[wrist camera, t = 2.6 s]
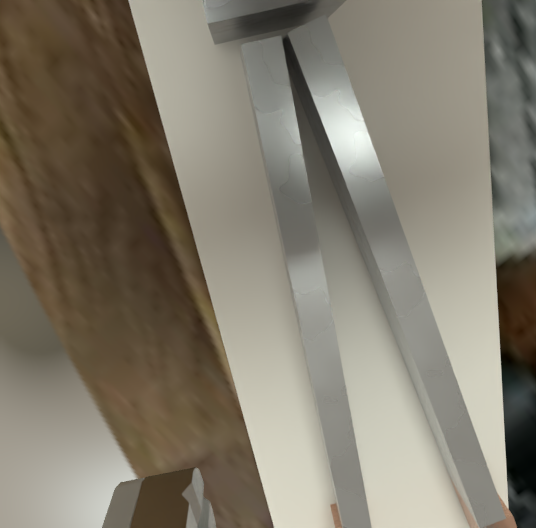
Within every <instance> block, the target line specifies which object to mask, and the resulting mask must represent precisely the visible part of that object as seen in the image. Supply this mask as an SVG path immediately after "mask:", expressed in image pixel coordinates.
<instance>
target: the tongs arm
mask: <svg viewBox="0 0 536 528" xmlns="http://www.w3.org/2000/svg"><path fill="white" fill-rule="evenodd" d="M282 42H283V48H284V53H285V58H286V64H287V69H288V71H289V74H290V76H291V79H292V81H293V84H294V86H295V89H296V91H297V94H298V96H299V99H300V101H301V104H302V106H303V109H304V111H305V114H306V116H307V119H308V121H309V124H310V126H311V129H312V131H313V134H314V136H315V139H316V142H317V144H318V147H319V149H320V152H321V154H322V157H323V159H324V162H325V164H326V167H327V169H328V172H329V174H330V177H331V179H332V182H333V184H334V187H335V189H336V192H337V194H338V197H339V199H340V202H341V204H342V207H343V209H344V212H345V214H346V217H347V220H348V222H349V225H350V227H351V230H352V232H353V235H354V237H355V240H356V242H357V245H358V247H359V250H360V252H361V255H362V257H363V260H364V262H365V265H366V267H367V270H368V272H369V275H370V277H371V280H372V282H373V285H374V287H375V290H376V293H377V295H378V298H379V300H380V303H381V305H382V308H383V310H384V313H385V315H386V318H387V320H388V323H389V325H390V328H391V330H392V333H393V335H394V338H395V340H396V343H397V345H398V348H399V350H400V353H401V355H402V358H403V360H404V363H405V365H406V368H407V371H408V373H409V376H410V378H411V381H412V383H413V386H414V388H415V391H416V393H417V396H418V398H419V401H420V403H421V406H422V408H423V411H424V413H425V416H426V418H427V421H428V423H429V426H430V428H431V431H432V433H433V436H434V438H435V441H436V443H437V446H438V449H439V451H440V454H441V456H442V459H443V461H444V464H445V466H446V469H447V471H448V474H449V476H450V479H451V481H452V484H453V486H454V489H455V491H456V494H457V496H458V499H459V501H460V504H461V506H462V509H463V511H464V514H465V516H466V519H467V522H468V524H469V527H470V528H517V526H516V523H515V520H514V518H513V515H512V514H511V512H510V511H509V509H508V508H507V506H506V505H505V503H504V502H503V501H502V499H501V498H500V496H499V495H498V493H497V491H496V488H495V486H494V483H493V480H492V477H491V474H490V472H489V469H488V466H487V463H486V460H485V458H484V455H483V452H482V449H481V446H480V444H479V441H478V438H477V435H476V432H475V430H474V427H473V424H472V421H471V418H470V416H469V413H468V410H467V407H466V404H465V402H464V399H463V396H462V393H461V390H460V388H459V385H458V382H457V379H456V376H455V374H454V371H453V368H452V365H451V362H450V360H449V357H448V354H447V351H446V348H445V346H444V343H443V340H442V337H441V334H440V332H439V329H438V326H437V323H436V321H435V318H434V315H433V312H432V309H431V307H430V304H429V301H428V298H427V295H426V293H425V290H424V287H423V284H422V281H421V279H420V276H419V273H418V270H417V267H416V265H415V262H414V259H413V256H412V253H411V251H410V248H409V245H408V242H407V239H406V237H405V234H404V231H403V228H402V225H401V223H400V220H399V217H398V214H397V211H396V209H395V206H394V203H393V200H392V197H391V195H390V192H389V189H388V186H387V183H386V181H385V178H384V175H383V172H382V169H381V167H380V164H379V161H378V158H377V155H376V153H375V150H374V147H373V144H372V141H371V139H370V136H369V133H368V130H367V127H366V125H365V122H364V119H363V116H362V113H361V111H360V108H359V105H358V102H357V99H356V97H355V94H354V91H353V88H352V85H351V83H350V80H349V77H348V74H347V71H346V69H345V66H344V63H343V60H342V57H341V55H340V52H339V49H338V46H337V43H336V41H335V38H334V35H333V32H332V29H331V27H330V24H329V21H328V18H327V15H326V14H325V15H323V16H321V17H319V18H317V19H315V20H313V21H310V22H308V23H306V24H304V25H302V26H300V27H298V28H296V29H294V30H292V31H290V32H288V33H287V34H286V35H285V37H284V38H283V40H282Z"/></svg>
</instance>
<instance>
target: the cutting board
mask: <svg viewBox="0 0 536 528" xmlns="http://www.w3.org/2000/svg"><path fill="white" fill-rule="evenodd" d="M128 1H129V4H130V8H131V12H132V15H133V19H134V22H135V26H136V30H137V33H138V37H139V41H140V44H141V48H142V51H143V55H144V59H145V62H146V66H147V69H148V73H149V77H150V80H151V84H152V87H153V91H154V95H155V98H156V102H157V106H158V109H159V113H160V116H161V120H162V124H163V127H164V131H165V134H166V138H167V142H168V145H169V149H170V153H171V156H172V160H173V163H174V167H175V171H176V174H177V178H178V181H179V185H180V189H181V192H182V196H183V200H184V203H185V207H186V210H187V214H188V218H189V221H190V225H191V228H192V232H193V236H194V239H195V243H196V247H197V250H198V254H199V257H200V261H201V265H202V268H203V272H204V275H205V279H206V283H207V286H208V290H209V293H210V297H211V301H212V304H213V308H214V312H215V315H216V319H217V322H218V326H219V330H220V333H221V337H222V340H223V344H224V348H225V351H226V355H227V359H228V362H229V366H230V369H231V373H232V377H233V380H234V384H235V387H236V391H237V395H238V398H239V402H240V406H241V409H242V413H243V416H244V420H245V424H246V427H247V431H248V434H249V438H250V442H251V445H252V449H253V452H254V456H255V460H256V463H257V467H258V471H259V474H260V478H261V481H262V485H263V489H264V492H265V496H266V499H267V503H268V507H269V510H270V514H271V518H272V521H273V525H274V528H335V525H334V521H333V516H332V512H331V507H330V505H331V504H335V503H336V502H335V497H334V492H333V488H332V483H331V478H330V474H329V469H328V464H327V459H326V455H325V450H324V445H323V441H322V436H321V431H320V427H319V422H318V417H317V413H316V408H315V403H314V398H313V394H312V389H311V384H310V380H309V375H308V370H307V366H306V361H305V356H304V352H303V347H302V342H301V338H300V333H299V328H298V323H297V319H296V314H295V309H294V305H293V300H292V295H291V291H290V286H289V281H288V277H287V272H286V267H285V262H284V258H283V253H282V248H281V244H280V239H279V234H278V230H277V225H276V220H275V216H274V211H273V206H272V201H271V197H270V192H269V187H268V183H267V178H266V173H265V169H264V164H263V159H262V155H261V150H260V145H259V140H258V136H257V131H256V126H255V122H254V117H253V112H252V108H251V103H250V98H249V94H248V89H247V84H246V79H245V75H244V70H243V65H242V61H241V56H240V52H241V44H245V43H250V42H254V41H259V40H263V39H267V38H272V37H276V36H281V37H282V40H283V38H284V37H285V35H286V34H287V33H288V32H290V31H292V30H294V29H296V28H298V27H300V26H302V25H299V26H295V27H291V28H286V29H282V30H277V31H273V32H269V33H264V34H260V35H255V36H251V37H247V38H242V39H238V40H233V41H229V42H225V43H220V44H216V45H215V44H214V41H213V38H212V36H211V33H210V30H209V27H208V24H207V20H206V16H205V11H204V7H203V3H202V0H128ZM328 21H329V24H330V27H331V29H332V32H333V35H334V38H335V41H336V43H337V46H338V49H339V52H340V55H341V57H342V60H343V63H344V66H345V69H346V71H347V74H348V77H349V80H350V83H351V85H352V88H353V91H354V94H355V97H356V99H357V102H358V105H359V108H360V111H361V113H362V116H363V119H364V122H365V125H366V127H367V130H368V133H369V136H370V139H371V141H372V144H373V147H374V150H375V153H376V155H377V158H378V161H379V164H380V167H381V169H382V172H383V175H384V178H385V181H386V183H387V186H388V189H389V192H390V195H391V197H392V200H393V203H394V206H395V209H396V211H397V214H398V217H399V220H400V223H401V225H402V228H403V231H404V234H405V237H406V239H407V242H408V245H409V248H410V251H411V253H412V256H413V259H414V262H415V265H416V267H417V270H418V273H419V276H420V279H421V281H422V284H423V287H424V290H425V293H426V295H427V298H428V301H429V304H430V307H431V309H432V312H433V315H434V318H435V321H436V323H437V326H438V329H439V332H440V334H441V337H442V340H443V343H444V346H445V348H446V351H447V354H448V357H449V360H450V362H451V365H452V368H453V371H454V374H455V376H456V379H457V382H458V385H459V388H460V390H461V393H462V396H463V399H464V402H465V404H466V407H467V410H468V413H469V416H470V418H471V421H472V424H473V427H474V430H475V432H476V435H477V438H478V441H479V444H480V446H481V449H482V452H483V455H484V458H485V460H486V463H487V466H488V469H489V472H490V474H491V477H492V480H493V483H494V486H495V488H496V491H497V493H498V495H499V496H500V498H501V499H502V501H503V502H504V503H505V505H506V506H507V508H508V491H507V472H506V453H505V434H504V415H503V396H502V377H501V358H500V339H499V321H498V302H497V283H496V264H495V245H494V226H493V207H492V188H491V169H490V150H489V131H488V112H487V93H486V74H485V55H484V36H483V17H482V0H346V1H345V2H344V3H343V4H342V5H341V6H340V7H339V8H338V9H337V10H336V11H335V12H334V13H333V14H332V15H331V16H329V17H328ZM288 75H289V80H290V86H291V91H292V97H293V102H294V107H295V113H296V118H297V124H298V129H299V135H300V140H301V145H302V151H303V156H304V162H305V167H306V173H307V178H308V184H309V189H310V194H311V200H312V205H313V211H314V216H315V222H316V227H317V232H318V238H319V243H320V249H321V254H322V260H323V265H324V271H325V276H326V281H327V287H328V292H329V298H330V303H331V309H332V314H333V320H334V325H335V330H336V336H337V341H338V347H339V352H340V358H341V363H342V368H343V374H344V379H345V385H346V390H347V396H348V401H349V407H350V412H351V417H352V423H353V428H354V434H355V439H356V445H357V450H358V455H359V461H360V466H361V472H362V477H363V483H364V488H365V494H366V499H367V504H368V510H369V515H370V521H371V526H372V528H470V527H469V524H468V522H467V519H466V516H465V514H464V511H463V509H462V506H461V504H460V501H459V499H458V496H457V494H456V491H455V489H454V486H453V484H452V481H451V479H450V476H449V474H448V471H447V469H446V466H445V464H444V461H443V459H442V456H441V454H440V451H439V449H438V446H437V443H436V441H435V438H434V436H433V433H432V431H431V428H430V426H429V423H428V421H427V418H426V416H425V413H424V411H423V408H422V406H421V403H420V401H419V398H418V396H417V393H416V391H415V388H414V386H413V383H412V381H411V378H410V376H409V373H408V371H407V368H406V365H405V363H404V360H403V358H402V355H401V353H400V350H399V348H398V345H397V343H396V340H395V338H394V335H393V333H392V330H391V328H390V325H389V323H388V320H387V318H386V315H385V313H384V310H383V308H382V305H381V303H380V300H379V298H378V295H377V293H376V290H375V287H374V285H373V282H372V280H371V277H370V275H369V272H368V270H367V267H366V265H365V262H364V260H363V257H362V255H361V252H360V250H359V247H358V245H357V242H356V240H355V237H354V235H353V232H352V230H351V227H350V225H349V222H348V220H347V217H346V214H345V212H344V209H343V207H342V204H341V202H340V199H339V197H338V194H337V192H336V189H335V187H334V184H333V182H332V179H331V177H330V174H329V172H328V169H327V167H326V164H325V162H324V159H323V157H322V154H321V152H320V149H319V147H318V144H317V142H316V139H315V136H314V134H313V131H312V129H311V126H310V124H309V121H308V119H307V116H306V114H305V111H304V109H303V106H302V104H301V101H300V99H299V96H298V94H297V91H296V89H295V86H294V84H293V81H292V79H291V76H290V74H289V71H288Z"/></svg>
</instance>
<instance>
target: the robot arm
mask: <svg viewBox="0 0 536 528" xmlns="http://www.w3.org/2000/svg"><path fill="white" fill-rule="evenodd" d="M203 487H204V482H203V480H202V477H201V474H200V471H199V469H197V468H196V467H194V468H189V469H184V470H179V471H174V472H169V473H164V474H159V475H153V476H148V477H146V478H140V479H135V480H131V481H126V482H121V483H120V484H119V485H118V486H117V487H116V488H115V490H114V493H113V496H112V499H111V503H110V505H109V508H108V511H107V515H106V517H105V520H104V523H103V527H102V528H216V525H215V520H214V515H213V510H212V507H211V504H210V501H208V500H207V499H205V498H204V497H203Z"/></svg>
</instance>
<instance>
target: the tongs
mask: <svg viewBox="0 0 536 528" xmlns="http://www.w3.org/2000/svg"><path fill="white" fill-rule="evenodd" d="M345 1H346V0H202V3H203V7H204V11H205V16H206V20H207V24H208V27H209V30H210V33H211V36H212V38H213V41H214V44H215V45H216V44H220V43H225V42H229V41H233V40H238V39H242V38H247V37H251V36H255V35H260V34H264V33H269V32H273V31H277V30H282V29H286V28H291V27H295V26H299V25H304V24H306V23H308V22H310V21H313V20H315V19H317V18H319V17H321V16H323V15H325V14H326V15H327V18H328V17H329V16H331V15H332V14H333V13H334V12H335V11H336V10H337V9H338V8H339V7H340V6H341V5H342V4H343V3H344V2H345ZM240 56H241V61H242V65H243V70H244V75H245V79H246V84H247V89H248V94H249V98H250V103H251V108H252V112H253V117H254V122H255V126H256V131H257V136H258V140H259V145H260V150H261V155H262V159H263V164H264V169H265V173H266V178H267V183H268V187H269V192H270V197H271V201H272V206H273V211H274V216H275V220H276V225H277V230H278V234H279V239H280V244H281V248H282V253H283V258H284V262H285V267H286V272H287V277H288V281H289V286H290V291H291V295H292V300H293V305H294V309H295V314H296V319H297V323H298V328H299V333H300V338H301V342H302V347H303V352H304V356H305V361H306V366H307V370H308V375H309V380H310V384H311V389H312V394H313V398H314V403H315V408H316V413H317V417H318V422H319V427H320V431H321V436H322V441H323V445H324V450H325V455H326V459H327V464H328V469H329V474H330V478H331V483H332V488H333V492H334V497H335V502H336V503H335V504H331V505H330V507H331V512H332V516H333V521H334V525H335V528H372V526H371V521H370V515H369V510H368V504H367V499H366V494H365V488H364V483H363V477H362V472H361V466H360V461H359V455H358V450H357V445H356V439H355V434H354V428H353V423H352V417H351V412H350V407H349V401H348V396H347V390H346V385H345V379H344V374H343V368H342V363H341V358H340V352H339V347H338V341H337V336H336V330H335V325H334V320H333V314H332V309H331V303H330V298H329V292H328V287H327V281H326V276H325V271H324V265H323V260H322V254H321V249H320V243H319V238H318V232H317V227H316V222H315V216H314V211H313V205H312V200H311V194H310V189H309V184H308V178H307V173H306V167H305V162H304V156H303V151H302V145H301V140H300V135H299V129H298V124H297V118H296V113H295V107H294V102H293V97H292V91H291V86H290V80H289V75H288V69H287V64H286V58H285V53H284V48H283V42H282V37H281V36H276V37H272V38H267V39H263V40H259V41H254V42H250V43H245V44H241V52H240Z"/></svg>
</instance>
